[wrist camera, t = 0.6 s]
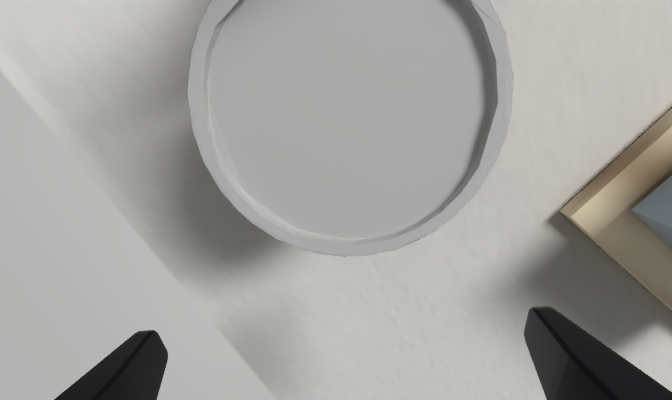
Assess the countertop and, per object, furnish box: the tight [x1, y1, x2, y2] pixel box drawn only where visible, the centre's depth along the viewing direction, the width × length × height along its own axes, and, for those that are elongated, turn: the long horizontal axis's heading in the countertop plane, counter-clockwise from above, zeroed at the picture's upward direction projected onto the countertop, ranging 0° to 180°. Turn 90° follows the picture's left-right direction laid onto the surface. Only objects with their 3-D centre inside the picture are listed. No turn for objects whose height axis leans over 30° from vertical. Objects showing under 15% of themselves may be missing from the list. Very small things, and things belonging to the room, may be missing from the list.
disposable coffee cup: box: [187, 0, 513, 257], centre depth 15 cm, size 10×10×12 cm
